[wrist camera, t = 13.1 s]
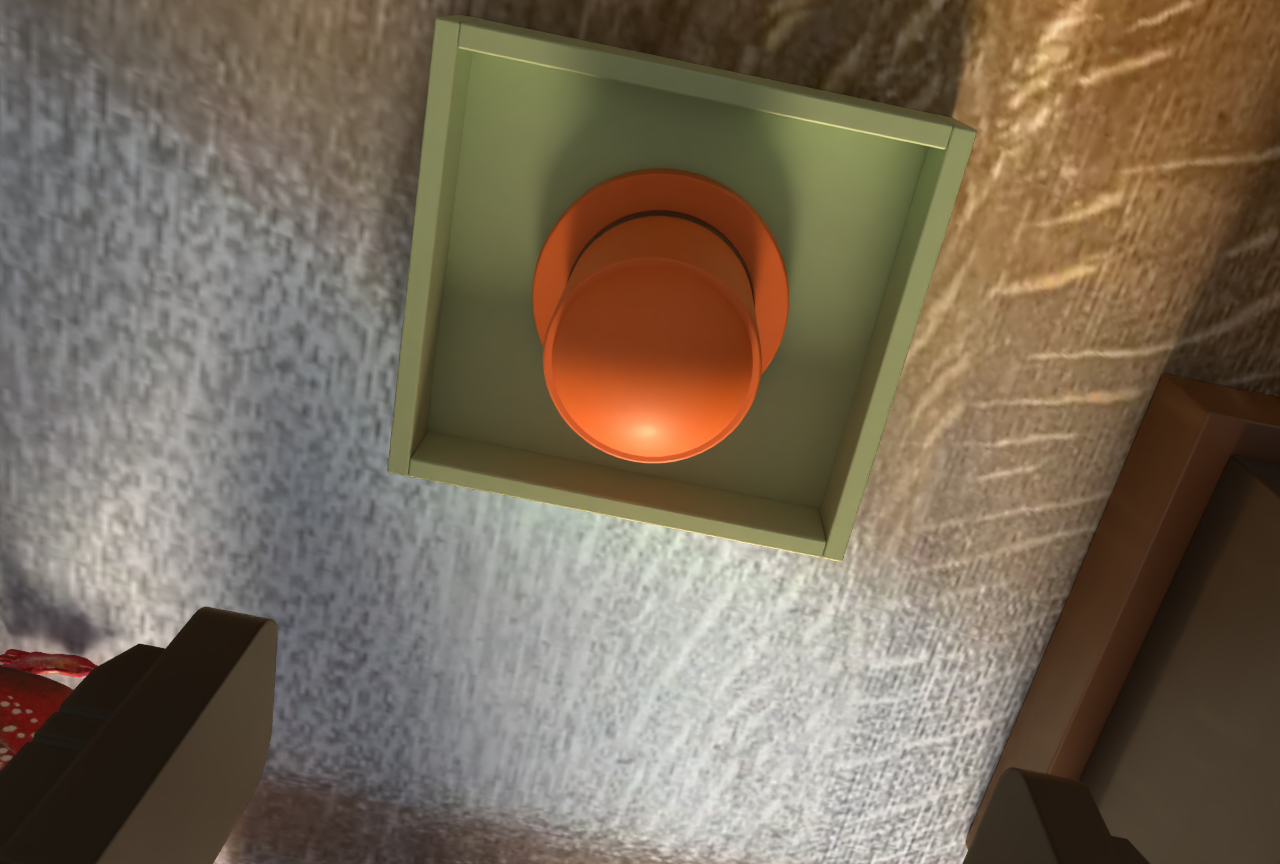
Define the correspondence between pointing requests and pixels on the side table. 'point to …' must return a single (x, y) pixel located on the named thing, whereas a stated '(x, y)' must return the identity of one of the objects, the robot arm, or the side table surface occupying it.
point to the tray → (684, 140)
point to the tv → (1174, 640)
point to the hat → (658, 313)
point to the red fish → (32, 694)
